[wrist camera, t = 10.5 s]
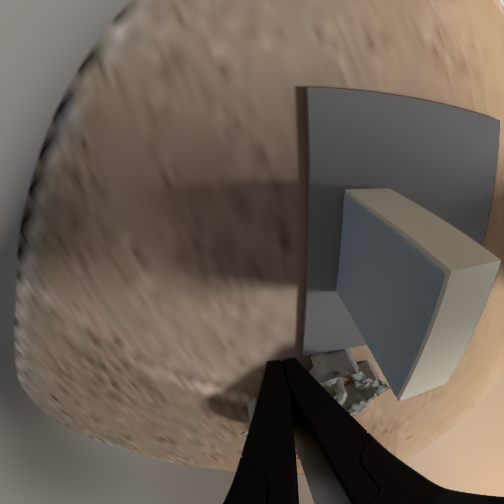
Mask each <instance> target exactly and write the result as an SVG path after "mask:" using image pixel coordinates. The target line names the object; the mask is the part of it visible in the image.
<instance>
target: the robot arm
mask: <svg viewBox="0 0 504 504" xmlns="http://www.w3.org/2000/svg"><path fill="white" fill-rule="evenodd" d="M295 446H296V449H297V452H298V455H299V458H300V461H301V464H302V467H303V470H304V473H305V476H306V479H307V482H308V486H309V489H310V491H311V494H312V497H313V500H314V503H315V504H504V497H496V496H487V495H478V494H471V493H465V492H459V491H453V490H449V489H446V488H443V487H440V486H438V485H436V484H434V483H433V482H431V481H430V480H428V479H427V478H425V477H424V476H422V475H421V474H419V473H418V472H416V471H415V470H413V469H412V468H410V467H409V466H408V465H406V464H405V463H403V462H402V461H401V460H399V459H398V458H397V457H395V456H394V455H393V454H392V453H390V452H389V451H388V450H387V449H386V448H384V447H383V446H382V445H381V444H380V443H379V442H378V441H377V440H376V439H375V438H374V437H373V436H372V435H371V434H370V433H367V431H366V430H365V429H364V428H363V427H362V426H361V425H360V424H359V423H358V422H357V421H356V420H355V419H354V418H353V417H352V416H351V415H350V414H349V413H348V412H347V411H346V410H345V409H344V408H343V407H342V406H341V405H340V404H339V403H338V402H337V401H336V400H335V399H334V398H333V396H332V395H331V394H330V393H329V392H328V391H327V390H326V389H325V388H324V387H323V386H322V385H321V384H320V383H319V382H318V381H317V380H316V379H315V378H314V377H313V376H312V375H311V374H310V373H309V372H308V371H307V369H306V368H305V367H304V366H303V365H302V364H301V363H300V362H299V361H298V360H297V359H296V358H294V357H292V358H285V359H282V360H271V361H267V363H266V367H265V371H264V375H263V379H262V382H261V386H260V390H259V394H258V398H257V401H256V405H255V409H254V413H253V416H252V420H251V423H250V427H249V431H248V434H247V438H246V441H245V445H244V448H243V452H242V455H241V456H242V457H241V458H240V461H239V465H238V468H237V471H236V474H235V477H234V480H233V482H232V485H231V487H230V490H229V492H228V494H227V496H226V498H225V501H224V503H223V504H299V497H298V481H297V466H296V452H295Z"/></svg>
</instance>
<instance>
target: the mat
mask: <svg viewBox="0 0 504 504" xmlns="http://www.w3.org/2000/svg"><path fill="white" fill-rule="evenodd" d="M305 98H306V123H307V171H308V210H307V258H306V285H305V305H304V322H303V338H302V351H301V353H302V356H308V355H314V354H320V353H325V352H331V351H336V350H341V349H346V348H351V347H355V346H360V345H364V344H367V343H366V341H365V340H364V338H363V336H362V334H361V333H360V331H359V329H358V327H357V326H356V324H355V322H354V320H353V319H352V317H351V315H350V314H349V312H348V310H347V308H346V307H345V305H344V303H343V302H342V300H341V298H340V297H339V295H338V293H337V292H336V287H337V278H338V269H339V258H340V247H341V235H342V221H343V204H344V194H345V189H372V188H390V189H392V190H394V191H395V192H397V193H399V194H401V195H402V196H404V197H406V198H408V199H410V200H411V201H413V202H415V203H416V204H418V205H420V206H421V207H423V208H425V209H426V210H428V211H430V212H431V213H433V214H435V215H436V216H438V217H439V218H441V219H443V220H444V221H446V222H447V223H449V224H450V225H452V226H453V227H455V228H457V229H458V230H460V231H461V232H463V233H464V234H465V235H467V236H468V237H470V238H471V239H473V240H474V241H476V242H477V243H478V244H480V245H481V246H482V245H483V241H484V237H485V233H486V229H487V224H488V219H489V215H490V209H491V204H492V198H493V192H494V186H495V178H496V170H497V161H498V149H499V133H500V120H497V119H494V118H491V117H488V116H485V115H481V114H478V113H475V112H471V111H467V110H464V109H460V108H456V107H452V106H448V105H444V104H440V103H435V102H430V101H425V100H420V99H415V98H410V97H404V96H398V95H391V94H384V93H376V92H368V91H359V90H348V89H335V88H316V87H306V88H305Z"/></svg>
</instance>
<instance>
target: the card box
mask: <svg viewBox="0 0 504 504" xmlns="http://www.w3.org/2000/svg"><path fill="white" fill-rule="evenodd" d="M500 263H501V260H500V259H499V258H498V257H496V256H495V255H494V254H492V253H491V252H490V251H488V250H487V249H485V248H484V247H483V246H481V245H480V244H478V243H477V242H476V241H474V240H473V239H471V238H470V237H468V236H467V235H465V234H464V233H463V232H461V231H460V230H458V229H457V228H455V227H453V226H452V225H450V224H449V223H447V222H446V221H444V220H443V219H441V218H439V217H438V216H436V215H435V214H433V213H431V212H430V211H428V210H426V209H425V208H423V207H421V206H420V205H418V204H416V203H415V202H413V201H411V200H410V199H408V198H406V197H404V196H402V195H401V194H399V193H397V192H395V191H394V190H392V189H390V188H372V189H345V194H344V204H343V221H342V235H341V247H340V258H339V269H338V278H337V287H336V292H337V293H338V295H339V297H340V298H341V300H342V302H343V303H344V305H345V307H346V308H347V310H348V312H349V314H350V315H351V317H352V319H353V320H354V322H355V324H356V326H357V327H358V329H359V331H360V333H361V334H362V336H363V338H364V340H365V341H366V343H367V345H368V347H369V349H370V350H371V352H372V354H373V356H374V358H375V359H376V361H377V363H378V365H379V367H380V369H381V370H382V372H383V374H384V376H385V378H386V380H387V382H388V384H389V385H390V387H391V389H392V391H393V393H394V395H395V396H396V397H397V399H398V401H401V400H404V399H407V398H410V397H413V396H415V395H418V394H421V393H423V392H426V391H428V390H431V389H433V388H436V387H438V386H440V385H443V384H445V383H447V381H448V380H449V378H450V376H451V374H452V373H453V371H454V369H455V367H456V366H457V364H458V362H459V360H460V358H461V356H462V354H463V353H464V351H465V349H466V347H467V345H468V343H469V341H470V339H471V336H472V334H473V332H474V330H475V328H476V326H477V324H478V321H479V319H480V317H481V314H482V312H483V310H484V307H485V305H486V302H487V300H488V297H489V295H490V292H491V289H492V287H493V284H494V281H495V278H496V275H497V272H498V269H499V266H500Z"/></svg>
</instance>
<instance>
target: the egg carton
mask: <svg viewBox="0 0 504 504" xmlns="http://www.w3.org/2000/svg"><path fill="white" fill-rule="evenodd" d="M311 360H312V363H313V367H312V369H311V370H310V371H308V372H309V373H310V374H311V375H312V376H313V377H314V378H315V379H316V380H317V381H318V382H319V383H320V384H321V385H322V386H323V387H324V388H325V389H326V390H327V391H328V392H329V393H330V394H331V395H332V396H333V398H334V399H335V400H336V401H337V402H338V403H339V404H340V405H341V406H342V407H343V408H344V409H345V410H346V411H347V412H348V413H349V414H350V415H351V416H352V417H353V416H355V415H357V414H359V413H360V412H361V411H362V410H363V409H364V408H365V407H366V406H367V405H368V404H369V402H370V401H371V400H372V399H374V398H375V397H376V395H377V396H379V395H380V394H381V393H383V392H385V391H386V390H388V386H387V384H386V383H385V382H383V381H382V382H381V380H380V379H379V376H378V375H377V373H376V371H375V369H374V367H373V365H372V363H371V362H369V361H368V360H365V361H364V362H362V363H360V364H357V363H356V361H355V359H354V357H353V355H352V352H351V350H350V349H349V348H346V349H341V350H336V351H331V352H325V353H320V354H314V355H312V356H311ZM349 375H350V376H351V377H352V379H353V381H354V383H351V384H347V385H345V386H344V385H343V382H342V380H341V377H344V376H349ZM389 389H390V387H389ZM256 401H257V398H254V399H252V400H251V401H249V402H248V403H247V408H248V413H249V420H250V423H251V420H252V416H253V413H254V409H255V405H256ZM241 434H245V435H246V436H247V434H248V431H247V432H243V433H241ZM295 452H296V455H298V452H297V449H296V446H295ZM297 459H300V458H299V455H298V457H297Z"/></svg>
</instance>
